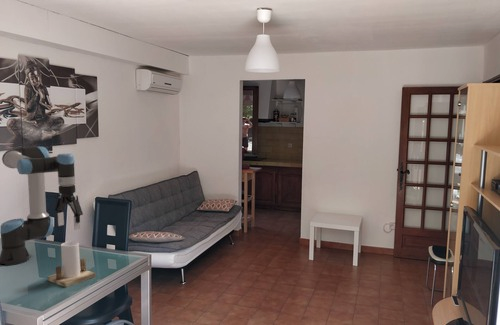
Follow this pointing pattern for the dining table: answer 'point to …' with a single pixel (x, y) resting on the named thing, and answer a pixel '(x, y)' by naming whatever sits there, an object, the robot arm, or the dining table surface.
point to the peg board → (71, 281)
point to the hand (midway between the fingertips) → (69, 227)
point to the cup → (70, 259)
